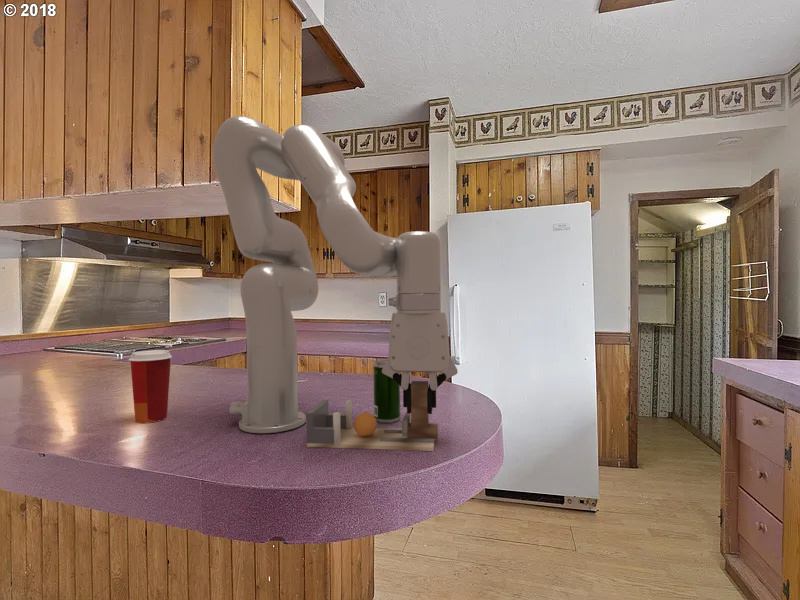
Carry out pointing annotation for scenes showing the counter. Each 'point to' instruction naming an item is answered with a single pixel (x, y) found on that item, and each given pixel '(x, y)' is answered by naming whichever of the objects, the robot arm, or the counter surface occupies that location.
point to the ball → (365, 424)
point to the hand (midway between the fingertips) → (419, 410)
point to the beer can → (385, 395)
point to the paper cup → (150, 384)
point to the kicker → (419, 414)
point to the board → (380, 441)
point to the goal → (327, 423)
